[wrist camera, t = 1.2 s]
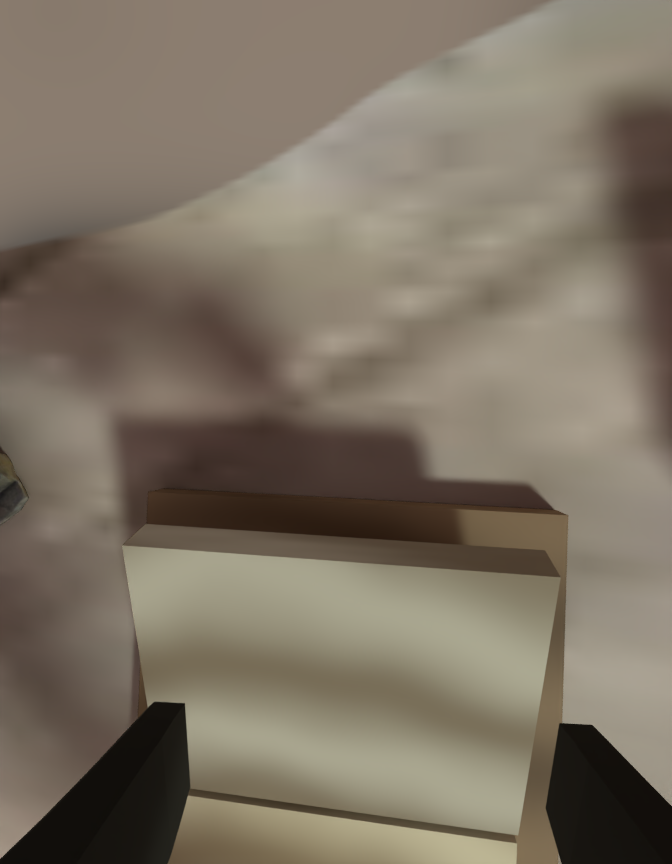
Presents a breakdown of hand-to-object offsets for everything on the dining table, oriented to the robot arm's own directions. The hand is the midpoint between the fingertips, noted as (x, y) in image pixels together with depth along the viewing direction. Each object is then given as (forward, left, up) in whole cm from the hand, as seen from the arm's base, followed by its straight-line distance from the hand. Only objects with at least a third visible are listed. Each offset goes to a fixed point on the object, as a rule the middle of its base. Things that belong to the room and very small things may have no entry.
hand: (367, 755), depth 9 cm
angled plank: (-3, +2, -9) cm, 9 cm away
